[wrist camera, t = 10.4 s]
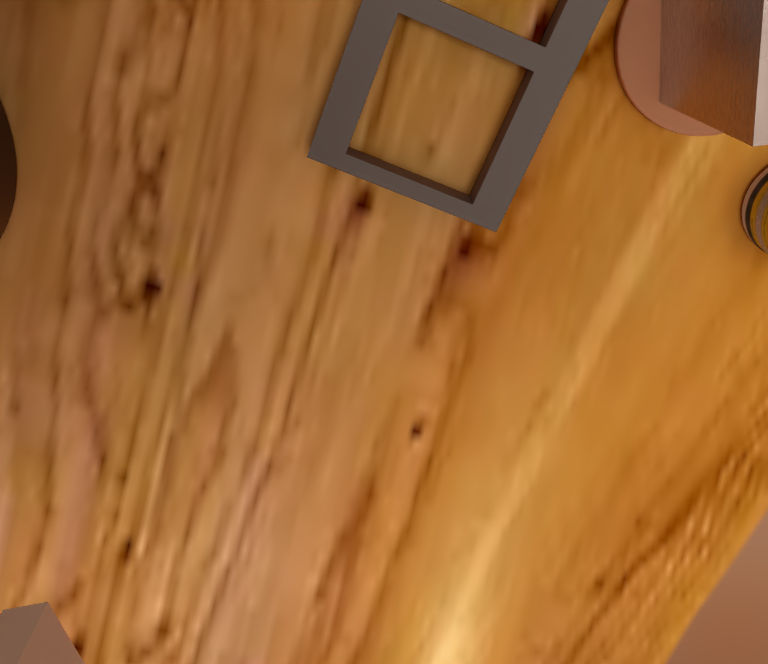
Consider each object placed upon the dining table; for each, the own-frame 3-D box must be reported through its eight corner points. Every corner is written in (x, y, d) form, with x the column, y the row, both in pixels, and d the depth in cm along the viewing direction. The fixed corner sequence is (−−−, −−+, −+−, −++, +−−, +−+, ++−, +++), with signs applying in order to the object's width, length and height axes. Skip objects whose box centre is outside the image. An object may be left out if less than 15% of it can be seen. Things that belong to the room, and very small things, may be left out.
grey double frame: (310, 149, 33) (307, 157, 32) (440, -219, 27) (443, -229, 26) (492, 222, 34) (496, 232, 33) (653, -113, 29) (666, -118, 27)
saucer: (580, 90, 32) (584, 93, 31) (679, -109, 29) (686, -112, 28) (738, 159, 33) (745, 163, 32) (850, -25, 30) (861, -24, 29)
